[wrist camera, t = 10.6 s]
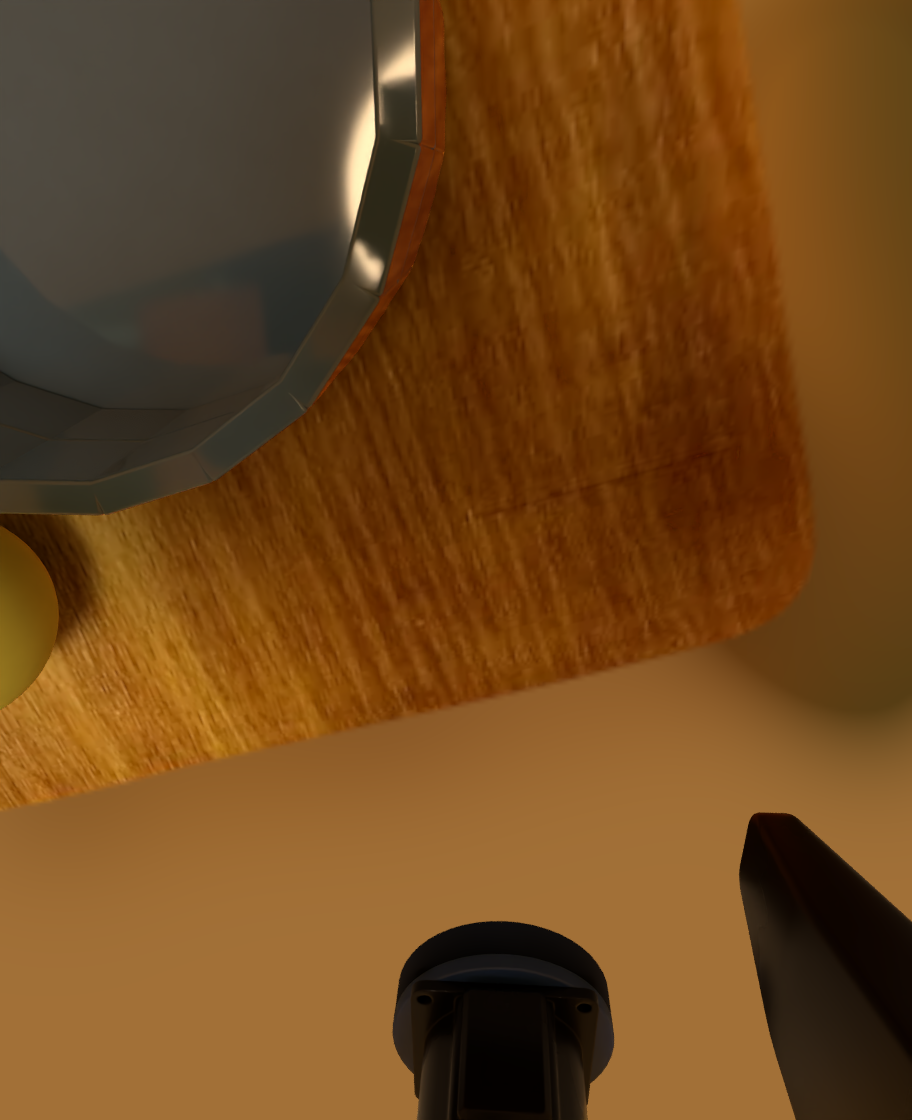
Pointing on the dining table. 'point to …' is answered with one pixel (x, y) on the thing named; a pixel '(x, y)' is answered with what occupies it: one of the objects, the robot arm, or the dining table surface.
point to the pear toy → (24, 616)
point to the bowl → (197, 227)
